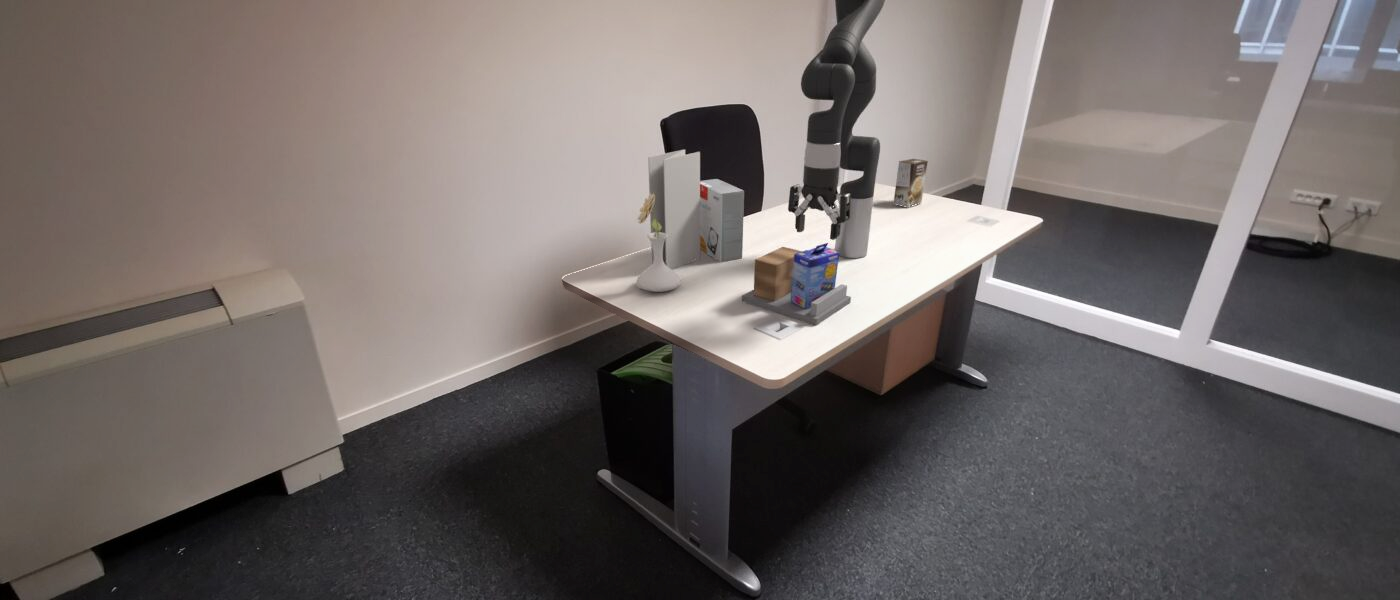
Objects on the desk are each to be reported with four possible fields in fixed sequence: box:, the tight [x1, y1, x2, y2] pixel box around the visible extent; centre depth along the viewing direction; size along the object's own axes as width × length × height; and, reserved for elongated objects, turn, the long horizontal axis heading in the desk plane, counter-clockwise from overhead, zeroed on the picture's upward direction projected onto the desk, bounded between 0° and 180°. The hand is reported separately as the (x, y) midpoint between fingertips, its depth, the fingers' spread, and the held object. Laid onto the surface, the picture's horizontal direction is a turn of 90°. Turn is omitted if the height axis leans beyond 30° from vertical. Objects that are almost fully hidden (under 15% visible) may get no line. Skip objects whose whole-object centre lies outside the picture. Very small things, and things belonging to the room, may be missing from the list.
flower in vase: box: [635, 193, 682, 293], centre depth 152 cm, size 13×11×25 cm
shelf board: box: [741, 284, 852, 326], centre depth 149 cm, size 16×20×4 cm
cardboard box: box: [753, 246, 803, 301], centre depth 150 cm, size 12×6×9 cm, turn 140°
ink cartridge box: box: [791, 242, 840, 309], centre depth 143 cm, size 10×6×14 cm, turn 126°
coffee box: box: [892, 158, 929, 208], centre depth 227 cm, size 9×6×16 cm
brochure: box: [647, 149, 701, 270], centre depth 168 cm, size 14×6×30 cm, turn 141°
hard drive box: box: [700, 178, 745, 263], centre depth 178 cm, size 16×8×20 cm, turn 27°
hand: (816, 235), depth 140 cm, fingers open, 8 cm apart
